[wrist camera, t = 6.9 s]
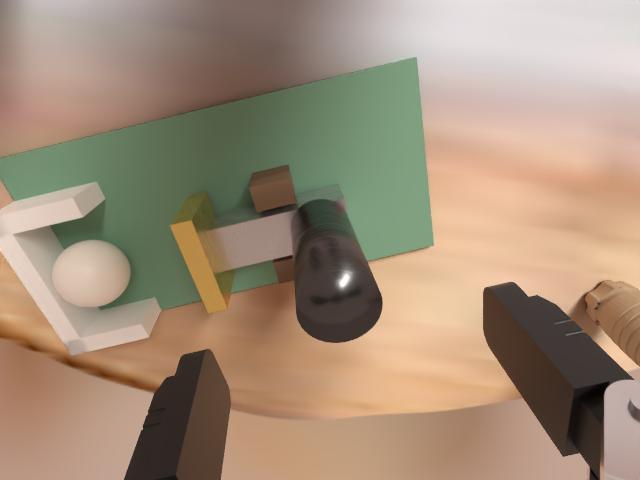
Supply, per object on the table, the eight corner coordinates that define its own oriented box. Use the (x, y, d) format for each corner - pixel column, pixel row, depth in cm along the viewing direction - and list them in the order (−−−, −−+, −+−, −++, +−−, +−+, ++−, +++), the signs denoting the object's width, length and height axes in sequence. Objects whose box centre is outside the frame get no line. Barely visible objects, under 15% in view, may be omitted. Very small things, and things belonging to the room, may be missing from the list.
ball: (113, 241, 19) (112, 221, 22) (32, 271, 17) (42, 246, 20) (144, 300, 20) (139, 274, 23) (71, 331, 19) (75, 300, 22)
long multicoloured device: (333, 160, 20) (371, 234, 12) (349, 241, 23) (391, 352, 14) (188, 195, 21) (125, 293, 12) (219, 272, 23) (184, 400, 14)
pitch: (-6, 159, 19) (-11, 161, 19) (414, 57, 19) (416, 57, 19) (94, 322, 24) (92, 326, 24) (431, 242, 24) (433, 245, 24)
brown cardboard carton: (252, 173, 21) (249, 188, 18) (288, 164, 21) (289, 178, 18) (279, 260, 23) (279, 283, 21) (311, 252, 23) (314, 274, 21)
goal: (19, 198, 20) (-21, 220, 18) (100, 179, 20) (72, 197, 18) (94, 322, 24) (71, 355, 22) (163, 306, 24) (148, 337, 22)
